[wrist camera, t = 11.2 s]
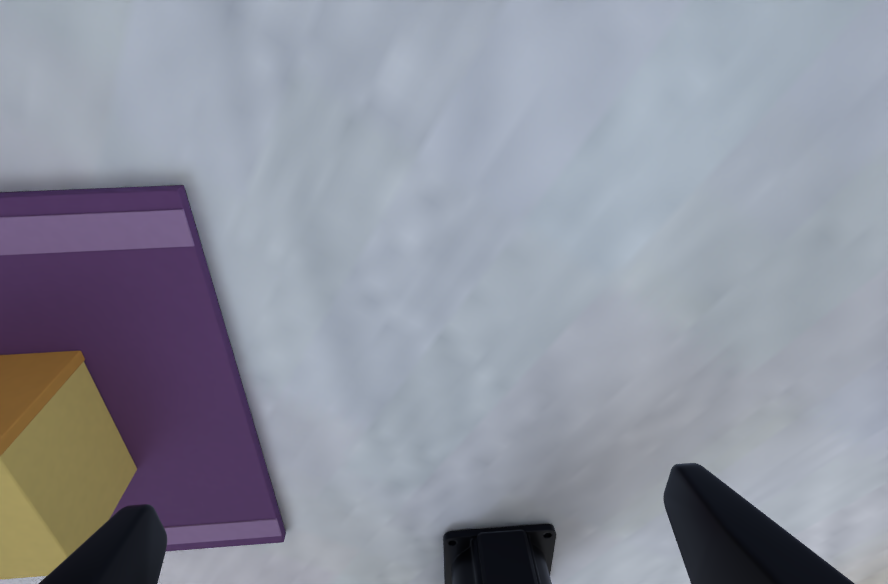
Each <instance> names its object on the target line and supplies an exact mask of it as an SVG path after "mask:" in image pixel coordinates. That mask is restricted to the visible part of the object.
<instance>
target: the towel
mask: <svg viewBox="0 0 888 584" xmlns="http://www.w3.org/2000/svg"><path fill="white" fill-rule="evenodd" d="M63 351H81V352H82V354H83V356H84V358H85V360H84V363H85V365H86V367H87V369H88V371H89V373H90V375H91V377H92V379H93V381H94V383H95V385H96V387H97V389H98V391H99V393H100V395H101V397H102V399H103V401H104V403H105V405H106V407H107V409H108V411H109V413H110V415H111V417H112V419H113V421H114V423H115V425H116V427H117V429H118V431H119V433H120V435H121V437H122V439H123V441H124V443H125V445H126V447H127V449H128V451H129V453H130V455H131V457H132V459H133V461H134V463H135V465H136V467H137V471H136V472H135V474H134V476H133V478H132V479H131V481H130V483H129V485H128V487H127V488H126V490H125V492H124V494H123V495H122V497H121V499H120V501H119V503H118V504H117V506H116V508H115V510H114V511H113V513H112V515H111V517H112V516H113V515H115V514H116V513H117V512H118V511H119V510H120V509H122V508H123V507H126V506H129V505H141V504H150V505H151V506H153V507H154V509H155V511H156V513H157V515H158V517H159V519H160V521H161V523H162V525H163V527H164V529H165V531H166V534H167V547H166V551H176V550H189V549H202V548H215V547H227V546H240V545H253V544H266V543H279V542H284V539H285V534H286V532H285V529H284V525H283V522H282V518H281V515H280V511H279V508H278V505H277V501H276V498H275V494H274V491H273V488H272V484H271V481H270V477H269V474H268V471H267V467H266V464H265V460H264V457H263V454H262V450H261V447H260V443H259V440H258V437H257V433H256V430H255V426H254V423H253V419H252V416H251V413H250V409H249V406H248V402H247V399H246V396H245V392H244V389H243V385H242V382H241V379H240V375H239V372H238V368H237V365H236V362H235V358H234V355H233V351H232V348H231V345H230V341H229V338H228V334H227V331H226V328H225V324H224V321H223V317H222V314H221V310H220V307H219V304H218V300H217V297H216V293H215V290H214V287H213V283H212V280H211V276H210V273H209V270H208V266H207V263H206V259H205V256H204V253H203V249H202V246H201V242H200V239H199V236H198V232H197V229H196V225H195V222H194V219H193V215H192V212H191V208H190V205H189V201H188V198H187V195H186V191H185V188H184V186H183V185H174V186H149V187H125V188H100V189H75V190H50V191H26V192H1V193H0V355H10V354H27V353H45V352H63ZM111 517H110V518H111Z"/></svg>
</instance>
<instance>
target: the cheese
mask: <svg viewBox="0 0 888 584" xmlns="http://www.w3.org/2000/svg"><path fill="white" fill-rule="evenodd" d="M84 360H85V358H84V356H83V354H82V352H81V351H63V352H45V353H27V354H10V355H0V579H12V578H25V577H37V576H48V575H49V574H50V573H51V572H52V571H53V570H54V569H55V568H56V567H58V566H59V565H60V564H61V563H62V562H63V561H64V560H65V559H66V558H67V557H68V556H70V555H71V554H72V553H73V552H74V551H75V550H76V549H77V548H78V547H79V546H81V545H82V544H83V543H84V542H85V541H86V540H87V539H88V538H89V537H90V536H91V535H93V534H94V533H95V532H96V531H97V530H98V529H99V528H100V527H101V526H102V525H104V524H105V523H106V522H107V521H108V520H109V519H110V517H111V515H112V513H113V511H114V510H115V508H116V506H117V504H118V503H119V501H120V499H121V497H122V495H123V494H124V492H125V490H126V488H127V487H128V485H129V483H130V481H131V479H132V478H133V476H134V474H135V472H136V471H137V467H136V465H135V463H134V461H133V459H132V457H131V455H130V453H129V451H128V449H127V447H126V445H125V443H124V441H123V439H122V437H121V435H120V433H119V431H118V429H117V427H116V425H115V423H114V421H113V419H112V417H111V415H110V413H109V411H108V409H107V407H106V405H105V403H104V401H103V399H102V397H101V395H100V393H99V391H98V389H97V387H96V385H95V383H94V381H93V379H92V377H91V375H90V373H89V371H88V369H87V367H86V365H85V363H84Z"/></svg>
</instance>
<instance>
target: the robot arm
mask: <svg viewBox="0 0 888 584" xmlns="http://www.w3.org/2000/svg"><path fill="white" fill-rule="evenodd" d="M664 505H665V509H666V512H667V515H668V518H669V520H670V523H671V526H672V529H673V532H674V535H675V538H676V541H677V544H678V547H679V549H680V552H681V555H682V558H683V561H684V564H685V567H686V570H687V573H688V576H689V578H690V581H691V584H854V583H853V582H852V581H850V580H849V579H848V578H847V577H845V576H844V575H843V574H841V573H840V572H839V571H837V570H836V569H835V568H834V567H832V566H831V565H830V564H828V563H827V562H826V561H825V560H823V559H822V558H821V557H819V556H818V555H817V554H815V553H814V552H813V551H812V550H810V549H809V548H808V547H806V546H805V545H804V544H802V543H801V542H800V541H799V540H797V539H796V538H795V537H793V536H792V535H791V534H789V533H788V532H787V531H786V530H784V529H783V528H782V527H780V526H779V525H778V524H777V523H775V522H774V521H773V520H771V519H770V518H769V517H767V516H766V515H765V514H764V513H762V512H761V511H760V510H758V509H757V508H756V507H754V506H753V505H752V504H751V503H749V502H748V501H747V500H745V499H744V498H743V497H742V496H740V495H739V494H738V493H736V492H735V491H734V490H732V489H731V488H730V487H729V486H727V485H726V484H725V483H723V482H722V481H721V480H719V479H718V478H717V477H716V476H714V475H713V474H712V473H710V472H709V471H708V470H707V469H705V468H704V467H703V466H701V465H699V464H696V463H686V464H676V465H674V466H673V467H672V469H671V472H670V475H669V479H668V482H667V485H666V488H665V492H664ZM555 539H556V532H555V528H554V526H553V525H551V524H538V525H525V526H512V527H500V528H487V529H474V530H461V531H451V532H447V533H445V535H444V536H443V545H444V576H445V584H552V583H551V579H550V571H551V564H552V558H553V552H554V545H555ZM166 547H167V534H166V531H165V529H164V527H163V525H162V523H161V521H160V519H159V517H158V515H157V513H156V511H155V509H154V507H153V506H151V505H150V504H141V505H129V506H126V507H123V508H122V509H120V510H119V511H118V512H117V513H116V514H115V515H113V516H112V517H111V518H110V519H109V520H108V521H107V522H106V523H105V524H104V525H102V526H101V527H100V528H99V529H98V530H97V531H96V532H95V533H94V534H93V535H91V536H90V537H89V538H88V539H87V540H86V541H85V542H84V543H83V544H82V545H81V546H79V547H78V548H77V549H76V550H75V551H74V552H73V553H72V554H71V555H70V556H68V557H67V558H66V559H65V560H64V561H63V562H62V563H61V564H60V565H59V566H58V567H56V568H55V569H54V570H53V571H52V572H51V573H50V574H49V575H48V576H47V577H45V578H44V579H43V580H42V581H41V582H40V583H39V584H157V583H158V579H159V575H160V571H161V567H162V563H163V560H164V556H165V552H166Z"/></svg>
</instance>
